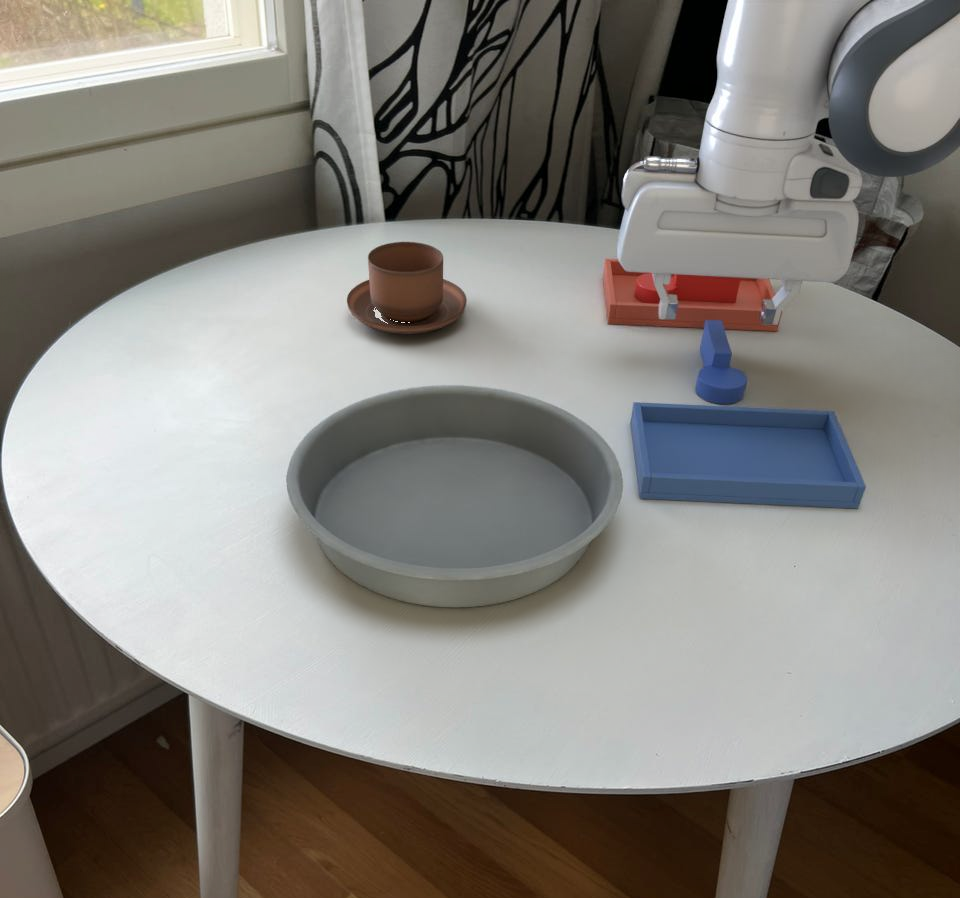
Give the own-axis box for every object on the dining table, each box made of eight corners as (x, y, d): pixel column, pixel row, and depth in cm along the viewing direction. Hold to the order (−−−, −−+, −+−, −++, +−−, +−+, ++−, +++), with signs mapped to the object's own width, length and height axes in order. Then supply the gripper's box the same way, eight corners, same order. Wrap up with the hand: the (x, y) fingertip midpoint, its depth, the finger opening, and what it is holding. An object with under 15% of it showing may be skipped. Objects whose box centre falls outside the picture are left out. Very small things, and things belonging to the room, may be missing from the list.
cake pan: (660, 602, 66) (671, 552, 63) (305, 647, 62) (297, 595, 59) (567, 418, 83) (572, 371, 80) (284, 443, 79) (277, 395, 76)
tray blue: (827, 432, 83) (834, 410, 81) (858, 508, 75) (866, 486, 73) (630, 423, 83) (633, 401, 82) (639, 498, 75) (643, 476, 74)
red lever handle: (731, 290, 101) (737, 262, 99) (737, 309, 98) (743, 280, 96) (633, 286, 102) (637, 258, 100) (635, 304, 98) (640, 276, 96)
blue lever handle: (685, 347, 93) (690, 318, 91) (730, 349, 93) (736, 320, 91) (698, 403, 86) (704, 373, 84) (747, 405, 86) (754, 375, 84)
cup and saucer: (323, 320, 96) (317, 259, 91) (401, 281, 103) (398, 223, 98) (414, 357, 91) (413, 294, 86) (490, 313, 97) (491, 253, 93)
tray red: (759, 284, 104) (763, 265, 103) (777, 331, 96) (782, 311, 95) (602, 277, 104) (604, 258, 103) (607, 324, 96) (610, 304, 95)
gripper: (629, 167, 77) (607, 329, 86) (883, 180, 76) (832, 341, 86) (624, 142, 81) (604, 298, 91) (863, 154, 81) (817, 310, 91)
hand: (717, 319), depth 88 cm, fingers open, 8 cm apart
